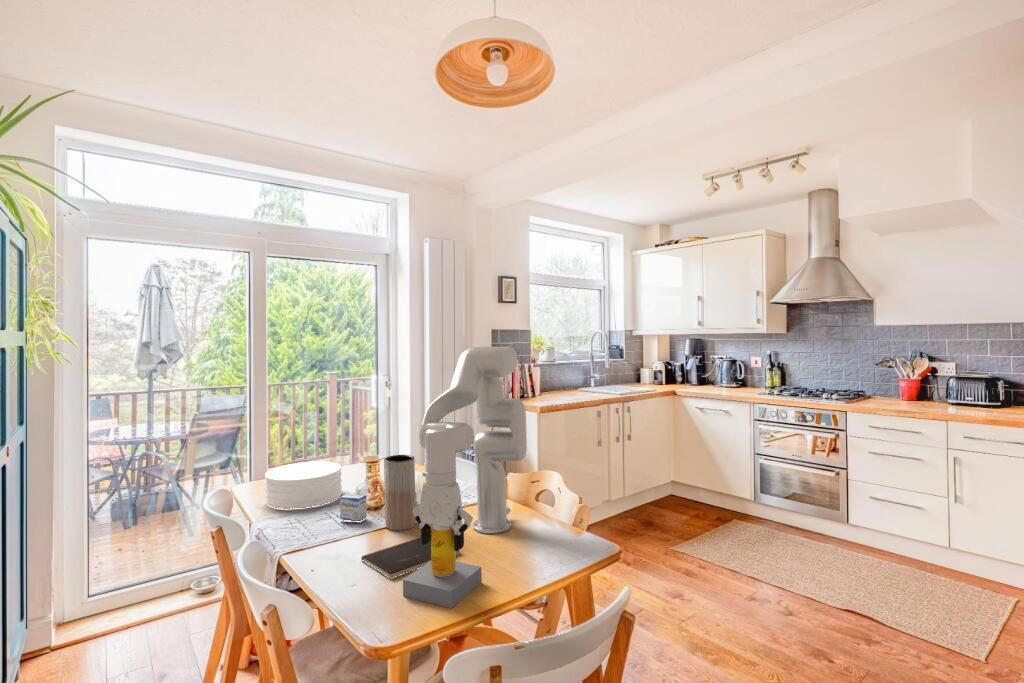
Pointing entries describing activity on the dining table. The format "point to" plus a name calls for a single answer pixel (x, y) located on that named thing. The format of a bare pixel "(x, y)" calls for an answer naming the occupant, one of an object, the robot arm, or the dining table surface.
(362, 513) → the medicine box
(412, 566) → the hardcover book
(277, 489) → the plate stack
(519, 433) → the robot arm
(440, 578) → the plate
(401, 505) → the planter
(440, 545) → the beer can
